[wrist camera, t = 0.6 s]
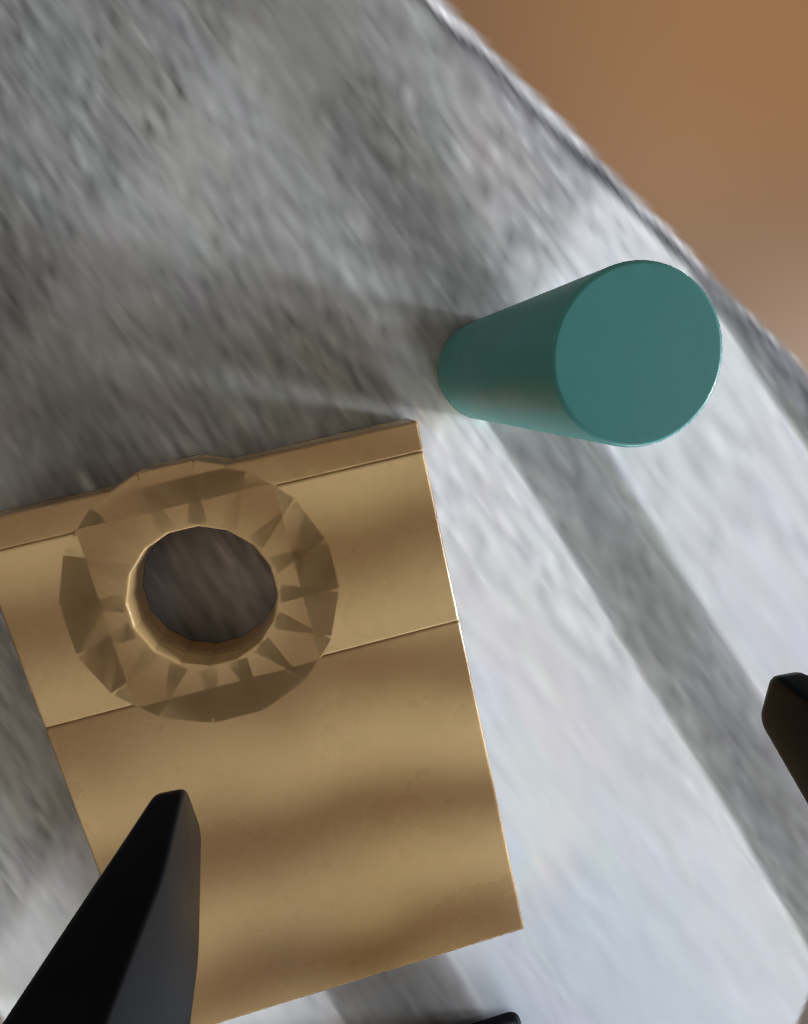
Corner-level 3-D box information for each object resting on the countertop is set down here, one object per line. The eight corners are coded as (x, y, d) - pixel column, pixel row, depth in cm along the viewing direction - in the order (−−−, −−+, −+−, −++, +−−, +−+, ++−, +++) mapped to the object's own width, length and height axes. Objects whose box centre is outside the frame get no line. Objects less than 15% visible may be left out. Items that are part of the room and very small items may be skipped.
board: (509, 890, 27) (524, 929, 25) (173, 991, 26) (161, 1041, 24) (406, 407, 23) (414, 408, 21) (-6, 500, 21) (-38, 512, 19)
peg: (539, 407, 23) (733, 425, 12) (448, 429, 23) (567, 465, 12) (522, 311, 22) (714, 242, 12) (428, 331, 22) (537, 280, 11)
